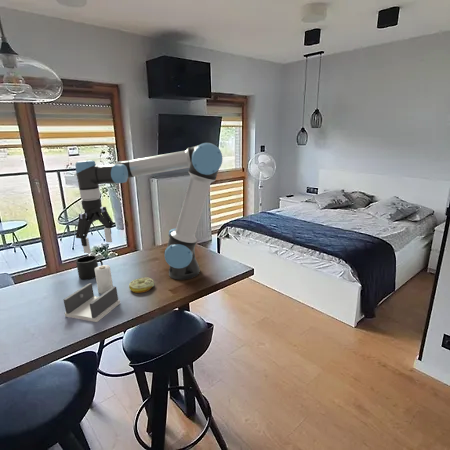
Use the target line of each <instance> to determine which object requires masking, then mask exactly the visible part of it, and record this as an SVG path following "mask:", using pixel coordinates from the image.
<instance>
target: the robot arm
mask: <svg viewBox="0 0 450 450" xmlns="http://www.w3.org/2000/svg"><path fill="white" fill-rule="evenodd" d="M222 165H223V154H222V152H221V150H220V148H219V147H218V146H217V145H216V144H215V143H212V142H207V141H206V142H202V143H200V144H198V145H195V146H191V147H187V148H186V150H181V151H175V152H170V153H164V154H162V153H161V154H158V155H153V156H152V155H151V156H146V157H145V156H144V157H141V158H140V157H139V158H135V159H129V160H119V161H116V162H114V163H111V164H101V165H99V164H97V163H96V161H95V160H89V159H87V160H78V161H76V163H75V175H76V178H77V179H76V180H77V184H78V190H79V195H80V199H81V201H80V202H81V206H82V207H81V208H82V209H83V210H84V213H78V224H77V229H76V234H75V238H76V239H80V243H81V246H82V248H83V253H84V254H91V253H92V252H91V247H90V241H89V237H88V234H89V232H90V229H91V226H92V224H93V223H94V222H96V221H99V222H100V224H101V225H103V227H104V228H103V229H104V231H103V232H104V237H105V242H106V243H113V238H112V228H113V225H114V222H113V219H112V218H111V215H109V213H108V210H107V207H106V206H103V205H102V198H100V197H101V191H100V185H101V184H104V185H106V184H118V185H119V184H123V183H127V182H128V179H131V178H135V177H141V176H147V175H153V174H159V173H160V174H161V173H165V172H173V171H178V170H182V169H188V171H187V172H188V174H189V177H190V178H189V181H188V185H187V188H186V191H185V194H184V195H185V196H184V199H183V202H182V206H181V209H180V213H179V217H178V220H177V223H176V227H175V228H171V229H170V230H168V242H167V245H166V248H165V250H164V261H165V262H166V263H167V264H168V265H169V269H168V276H169V277H170V278H171V279H173V280H177V281H181V280H183V281H185V280H191V279H194V278H195V276H196V277H197V276H199V275H200V273H201V270H200V265H199V263H198V259H197V258H196V251H195V249H196V248H195V247H196V244H197V241H198V239H197V237H196V232H197V229H198V226H199V223H200V219H201V216H202V214H203V210H204V206H205V203H206V199H207V197H208V193H209V189H210V187H211V183H214V182H216V180H217V177H218V174H219V169H220V168H221V167H222ZM199 272H200V273H199ZM198 274H199V275H198ZM193 277H194V278H193Z"/></svg>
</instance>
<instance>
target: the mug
mask: <svg viewBox="0 0 450 450" xmlns="http://www.w3.org/2000/svg"><path fill="white" fill-rule="evenodd" d="M75 262H76V264H75V265H76V268H77V275H78V278H79V279H80V280H82V281H83V280H84V281H86V280H87V281H88V280H91V279H96V275H95V268H96V267H98V266H99V264H98V263H99V262H100V266H101V265H104V264H103V261H102V260H101V259H98V258H97V256H96V255H85V256H81V257H79V258H77V259H76V260H75Z"/></svg>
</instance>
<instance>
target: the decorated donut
mask: <svg viewBox="0 0 450 450" xmlns="http://www.w3.org/2000/svg"><path fill="white" fill-rule="evenodd" d="M154 286H155V281H154V280H153V279H152V278H150V277H148V276H147V277H138V278H137V279H133V280H131V281H130V282H129V284H128V288H129V290H130V291H131V292H133V293H136V294H142V293H146V292H149V291H150V290H151V289H153V287H154Z"/></svg>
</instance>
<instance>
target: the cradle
mask: <svg viewBox="0 0 450 450" xmlns="http://www.w3.org/2000/svg"><path fill="white" fill-rule="evenodd" d="M62 301H63V303H64V309H65V312H64V316H65V317H67V318H71V319H77V320H84V321H88V322H94V323H98V322H99V321H101V320H102V319H103V318H104V317H106V315H108V314H109V313H111V312H112V311H113V310H114V309H115V308H116V307H118V306H119V305H120V304H121V299H119V296H118V290H117V286H114V285H113V287H112V288H111V289H109V290H108V291H106V292H105V293H104V294H101V295H100V296H95V294H94V287H93V284H92V283H91V282H89V283H87V284H86V285H84V286H83V287H81V288H79V289H78V290H76V291H74V292H73V293H71V294H69V295H68V296H67V297H65V298H64V299H63V300H62Z"/></svg>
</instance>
